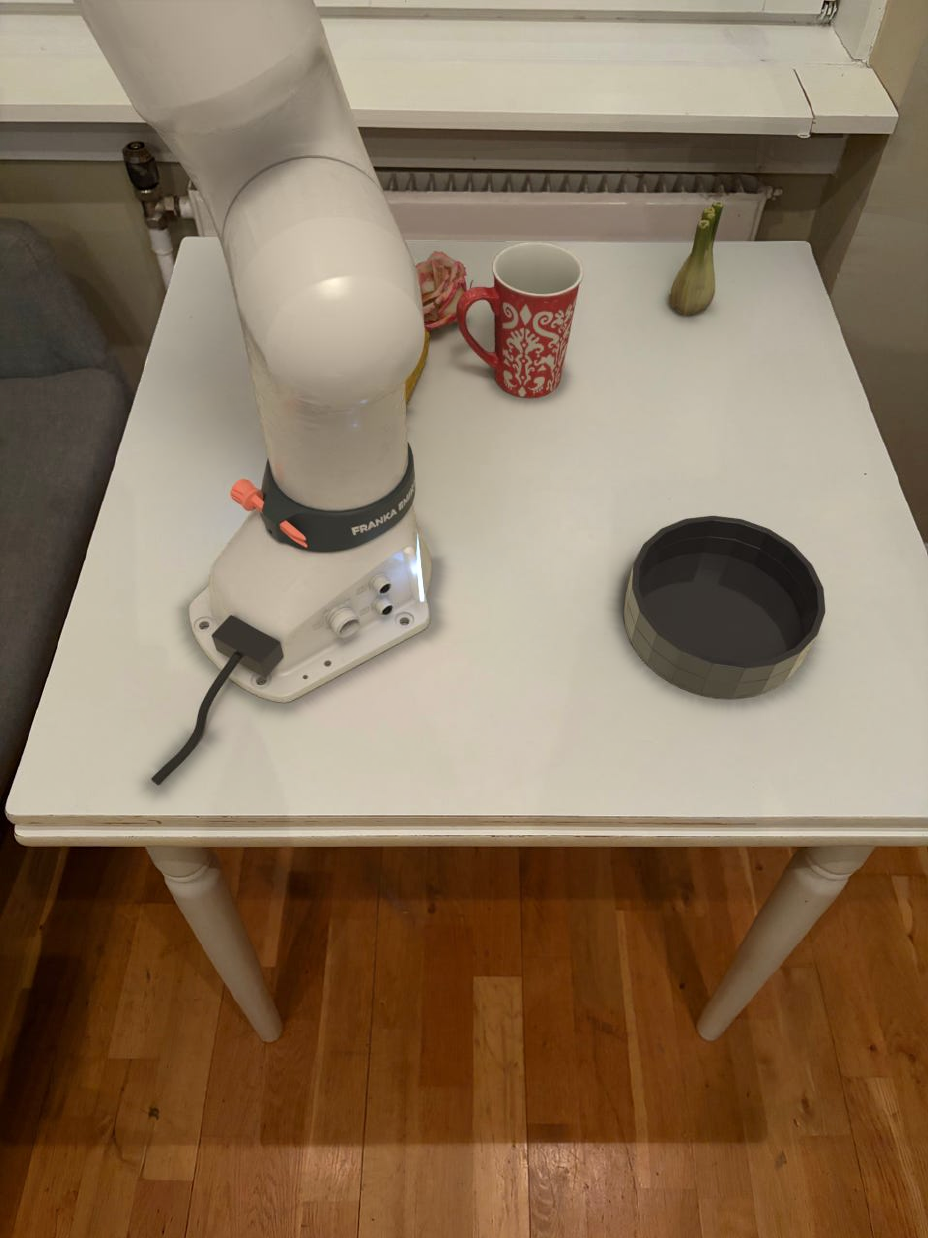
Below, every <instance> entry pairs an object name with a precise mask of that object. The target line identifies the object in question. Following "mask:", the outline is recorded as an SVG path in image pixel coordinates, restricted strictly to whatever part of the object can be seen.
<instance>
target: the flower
mask: <svg viewBox="0 0 928 1238" xmlns="http://www.w3.org/2000/svg"><path fill="white" fill-rule="evenodd" d="M415 265H416V269H417V273H418V278H419V284H420V290H421V297H422V305H423V315H424V327H425V329H426V330H427V332H429V333H430V332H431V331H434V330H437V329H438V328H441V327H443V326H447V325H451V324H455V323H457V318H456V308H457V303H458V301H459V298H460V297H461V295H462V294H463V293H464V292H466V291H467V290H468V286H467V281H466V278H465V277H466V276H468V275H467V268H466V266H465V264H464V263H462V262H460V261H459V260H455V259H453V258H452V257H450V256H449V255H448V254H447V253H445V252H443V251H436V250H433V252H432V253H431V254H430V255H429V256H428V258H427V260H426V261H421V262H418V263H416V264H415ZM473 283H474V279H472V280H471V281H470V283H469V289H471V288H472V286H473Z"/></svg>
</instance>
